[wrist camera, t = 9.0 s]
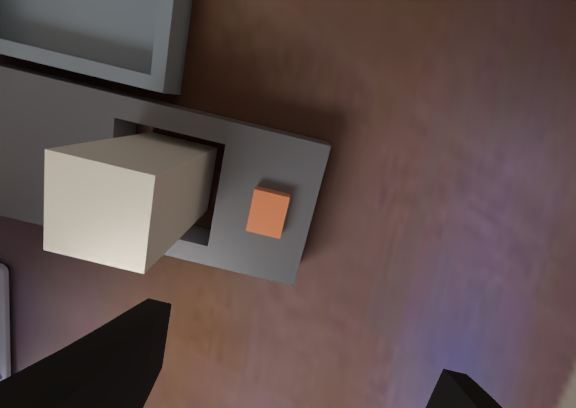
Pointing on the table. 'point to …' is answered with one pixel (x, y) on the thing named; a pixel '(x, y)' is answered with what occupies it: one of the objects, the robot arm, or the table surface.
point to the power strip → (136, 109)
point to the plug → (124, 197)
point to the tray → (102, 38)
